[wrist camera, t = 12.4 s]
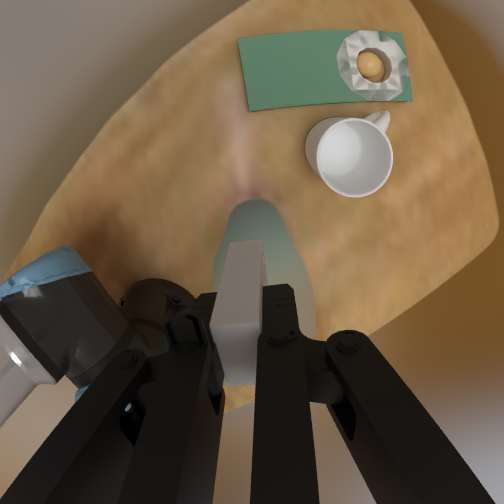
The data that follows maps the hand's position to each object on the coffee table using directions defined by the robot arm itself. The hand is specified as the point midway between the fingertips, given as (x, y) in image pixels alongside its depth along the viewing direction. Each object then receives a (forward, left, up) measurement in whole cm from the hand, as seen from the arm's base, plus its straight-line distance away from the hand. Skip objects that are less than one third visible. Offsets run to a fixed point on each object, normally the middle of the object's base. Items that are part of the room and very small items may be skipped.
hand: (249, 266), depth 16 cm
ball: (+16, +13, -28) cm, 35 cm away
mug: (+12, +3, -30) cm, 32 cm away
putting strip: (+11, +13, -29) cm, 34 cm away
